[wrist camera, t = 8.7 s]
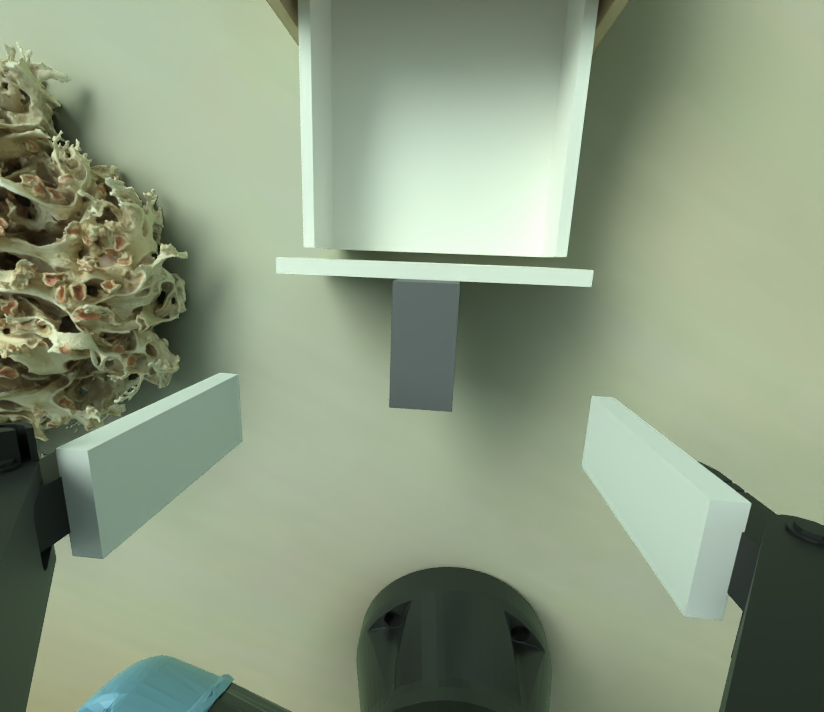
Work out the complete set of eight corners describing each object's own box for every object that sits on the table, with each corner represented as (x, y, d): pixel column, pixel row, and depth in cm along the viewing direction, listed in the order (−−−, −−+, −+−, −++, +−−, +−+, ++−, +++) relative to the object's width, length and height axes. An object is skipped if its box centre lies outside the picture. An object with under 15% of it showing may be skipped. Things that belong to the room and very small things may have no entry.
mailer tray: (548, 373, 27) (590, 421, 19) (315, 358, 28) (261, 398, 20) (609, -124, 20) (711, -369, 12) (306, -113, 22) (222, -329, 14)
